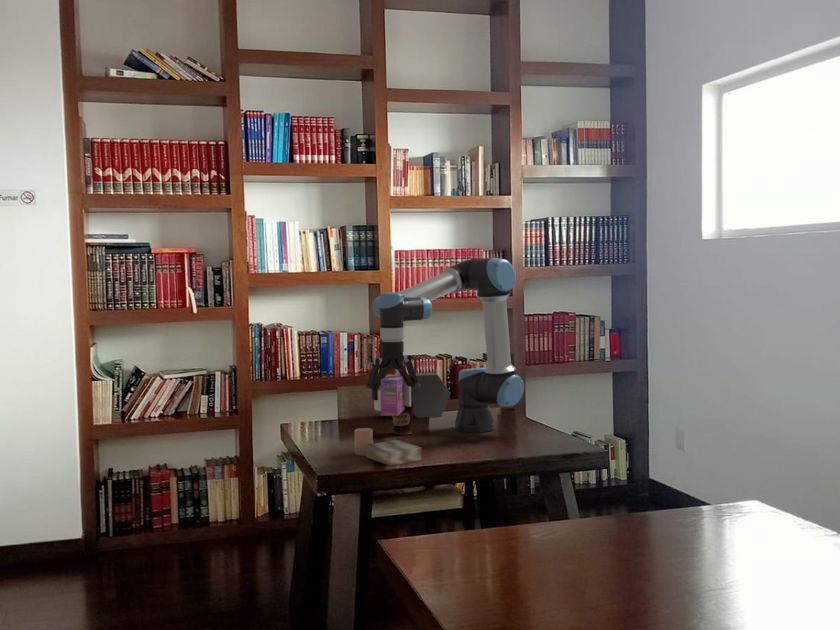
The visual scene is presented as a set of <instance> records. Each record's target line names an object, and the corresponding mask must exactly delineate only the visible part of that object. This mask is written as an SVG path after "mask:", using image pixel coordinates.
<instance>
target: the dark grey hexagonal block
mask: <svg viewBox="0 0 840 630" xmlns="http://www.w3.org/2000/svg"><path fill="white" fill-rule="evenodd" d="M415 374H416V377H417V380H418V383H417V384H415V386H413V395H412V396H411V399H412V401H413V402H414V406H413V414H412V416H414V417H415V418H416V419H421V418H422V419H423V418H424V419H425V418H439V417H440V418H441V417H442V416H443V414H444V410H445V408H446V407H447V403H448V401H449V399H450V396H451V392H450V391H449V389H448V388H447V386H446V385H445V384H444V382H443V380H442V379H441V378H440V376H439V374H437V373H436V372H432V371H431V372H415ZM419 384H420V386H419ZM404 386H407V384H406V383H404ZM404 398H405V389H404Z"/></svg>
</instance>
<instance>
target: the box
mask: <svg viewBox="0 0 840 630" xmlns="http://www.w3.org/2000/svg"><path fill="white" fill-rule="evenodd" d="M404 386H405V381H404V377H403V376H402V375H401V374H387V375H385V377H384V379H381V385H380V390H381V411H380V416H385V417H386V416H387V417H393V416H398V415H399V414H400V413H401V412H402V411H404V410H405V405H404Z"/></svg>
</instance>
